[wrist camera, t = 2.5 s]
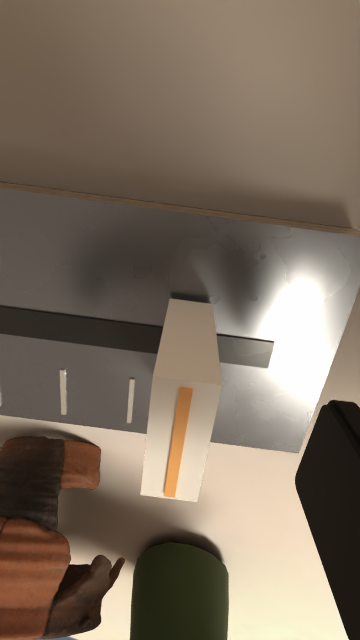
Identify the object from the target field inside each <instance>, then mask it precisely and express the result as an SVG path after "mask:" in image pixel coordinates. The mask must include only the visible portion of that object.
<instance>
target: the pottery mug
mask: <svg viewBox="0 0 360 640" xmlns="http://www.w3.org/2000/svg"><path fill="white" fill-rule="evenodd" d="M100 456H101V449H100V448H99V447H98V446H94V445H91V444H89V443H82V442H79V441H69V440H62V439H49V438H46V437H20V438H15V439H12V440H9V441H7V442H6V443H5V444H4V446H3V447H2V449H1V450H0V640H30V639H38V638H42V639H52V638H60V637H66V636H71V635H74V634H79V633H84V632H87V631H90V630H93V629H95V628H96V627H98V626H99V624H100V623H101V615H100V612H101V602H102V599H103V597H104V595H105V594H106V593H107V591H108V590H109V589H110V588H111V587H112V586H113V584H114V582H115V580H116V579H117V577H118V575H119V573H120V570H121V568H122V566H123V564H124V562H125V559H124V558H123V557H121V558H119V559H118V560H117V561H116V563H115V565H114V566H113V567H112V564H111V562H110V561H109V560H108V559H107V558H106V557H105V556H103V555H98V556H96V557H95V558H94V560H93V561H92V563H91V565H89V564H83V565H74V564H72V565H71V564H69V563H70V561H71V556H70V546H69V543H68V541H67V539H66V538H65V537H64V536H63V535H62V534H61V533H59V532H57V531H56V528H57V524H58V517H57V511H58V496H59V492H60V489H66V488H70V487H73V488H88V489H94V488H96V487H97V486H98V484H99V481H100V470H99V469H100ZM111 567H112V568H111Z"/></svg>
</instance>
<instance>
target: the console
mask: <svg viewBox="0 0 360 640" xmlns="http://www.w3.org/2000/svg"><path fill="white" fill-rule="evenodd" d="M359 289H360V231H357V230H354V229H350V228H342V227H335V226H327V225H320V224H312V223H305V222H297V221H290V220H282V219H275V218H267V217H260V216H252V215H245V214H237V213H230V212H222V211H215V210H207V209H200V208H192V207H185V206H177V205H170V204H162V203H155V202H147V201H140V200H132V199H124V198H117V197H109V196H102V195H94V194H87V193H79V192H72V191H64V190H57V189H49V188H42V187H34V186H27V185H19V184H12V183H4V182H0V415H5V416H13V417H20V418H28V419H36V420H44V421H51V422H59V423H67V424H75V425H82V426H90V427H98V428H106V429H113V430H121V431H129V432H137V433H144V434H147V427H148V417H149V408H150V398H151V388H152V379H153V373H154V368H155V364H156V359H157V354H158V350H159V345H160V341H161V336H162V331H163V327H164V322H165V318H166V313H167V309H168V304H169V299H178V300H185V301H193V302H201V303H208V304H213V309H214V318H215V327H216V335H217V344H218V353H219V362H220V371H221V380H222V388H221V393H220V397H219V402H218V407H217V411H216V416H215V421H214V426H213V430H212V435H211V440H210V442H214V443H222V444H230V445H237V446H245V447H253V448H261V449H268V450H276V451H284V452H292V453H299V451H300V448H301V446H302V443H303V440H304V437H305V435H306V432H307V429H308V427H309V424H310V421H311V419H312V416H313V413H314V410H315V408H316V405H317V402H318V400H319V397H320V394H321V391H322V389H323V386H324V383H325V381H326V378H327V375H328V373H329V370H330V367H331V364H332V362H333V359H334V356H335V354H336V351H337V348H338V346H339V343H340V340H341V337H342V335H343V332H344V329H345V327H346V324H347V321H348V318H349V316H350V313H351V310H352V308H353V305H354V302H355V300H356V297H357V294H358V291H359Z"/></svg>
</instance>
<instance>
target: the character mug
mask: <svg viewBox="0 0 360 640" xmlns="http://www.w3.org/2000/svg"><path fill="white" fill-rule="evenodd" d="M228 610H229V597H228V572H227V569H226V566H225V565H224V564H223V563H222V562H221V561H219V560H218V559H217V558H216V557H215V556H214V555H212V554H211V553H208V552H206V551H204V550H202V549H200V548H197V547H195V546H193V545H188V544H180V543H173V542H168V543H164V544H161V545H157V546H153V547H150V548H149V549H148V550H147V551H146V552H144V553H143V554H142V555H141V556H140V557H139V558H138V559H137V562H136V566H135V570H134V574H133V588H132V601H131V628H130V640H227V631H228Z"/></svg>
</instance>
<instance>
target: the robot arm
mask: <svg viewBox="0 0 360 640" xmlns="http://www.w3.org/2000/svg"><path fill="white" fill-rule="evenodd" d="M295 485H296V490H297V493H298V495H299V498H300V501H301V504H302V507H303V510H304V513H305V516H306V518H307V521H308V524H309V527H310V530H311V533H312V536H313V539H314V542H315V544H316V547H317V550H318V553H319V556H320V559H321V562H322V565H323V567H324V570H325V573H326V576H327V579H328V582H329V585H330V588H331V590H332V593H333V596H334V599H335V602H336V605H337V608H338V611H339V614H340V616H341V619H342V622H343V625H344V628H345V631H346V634H347V636H348V638H349V640H360V408H359V406H358V405H357V404H356V403H354V402H347V401H338V400H331V401H330V402H329V403H328V404H327V405H323V406H322V408H321V410H320V412H319V415H318V418H317V420H316V423H315V425H314V428H313V431H312V433H311V436H310V439H309V441H308V444H307V446H306V449H305V452H304V454H303V457H302V460H301V462H300V465H299V467H298V470H297V473H296V476H295Z"/></svg>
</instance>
